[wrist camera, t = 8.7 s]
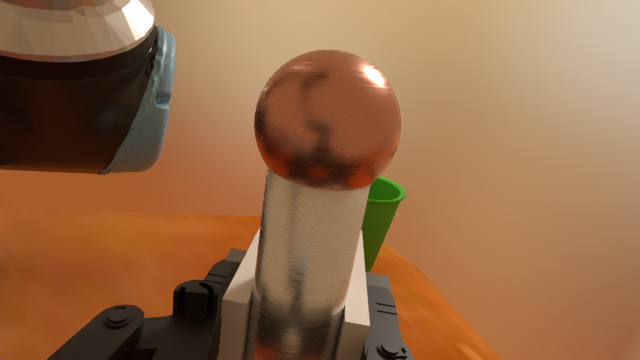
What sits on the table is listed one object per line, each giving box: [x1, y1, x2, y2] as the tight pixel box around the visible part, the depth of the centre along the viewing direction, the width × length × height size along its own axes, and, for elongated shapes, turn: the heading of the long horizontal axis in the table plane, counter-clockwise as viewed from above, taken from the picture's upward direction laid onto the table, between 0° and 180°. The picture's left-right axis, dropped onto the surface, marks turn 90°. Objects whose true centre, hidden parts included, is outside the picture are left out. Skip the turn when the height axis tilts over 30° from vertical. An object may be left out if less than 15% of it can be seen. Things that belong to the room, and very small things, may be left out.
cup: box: [361, 176, 406, 273], centre depth 39 cm, size 9×9×11 cm
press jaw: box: [245, 50, 401, 360], centre depth 13 cm, size 4×10×20 cm, turn 86°
